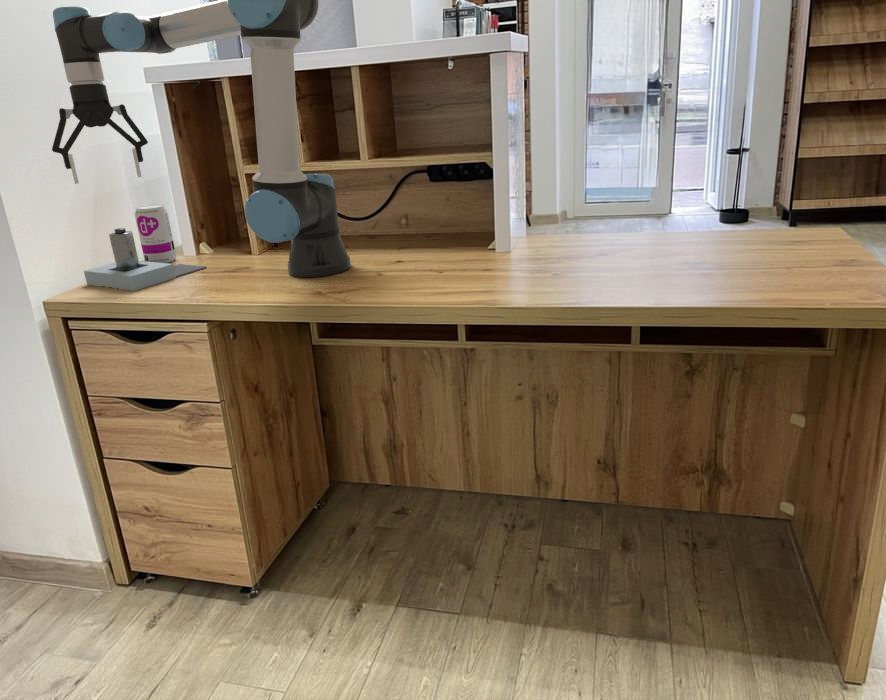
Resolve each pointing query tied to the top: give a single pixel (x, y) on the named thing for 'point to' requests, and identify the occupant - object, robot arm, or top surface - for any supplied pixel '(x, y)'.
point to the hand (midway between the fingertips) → (108, 180)
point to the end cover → (124, 250)
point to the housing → (130, 275)
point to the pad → (186, 269)
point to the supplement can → (155, 234)
